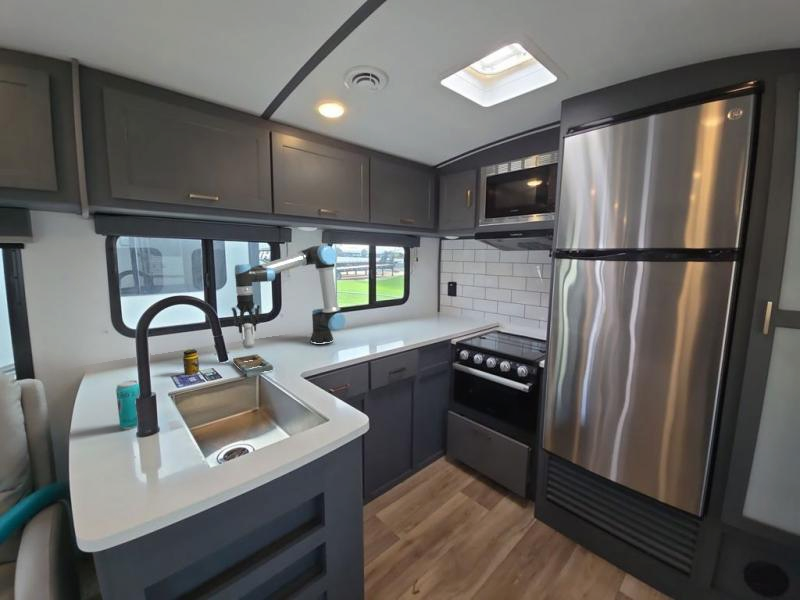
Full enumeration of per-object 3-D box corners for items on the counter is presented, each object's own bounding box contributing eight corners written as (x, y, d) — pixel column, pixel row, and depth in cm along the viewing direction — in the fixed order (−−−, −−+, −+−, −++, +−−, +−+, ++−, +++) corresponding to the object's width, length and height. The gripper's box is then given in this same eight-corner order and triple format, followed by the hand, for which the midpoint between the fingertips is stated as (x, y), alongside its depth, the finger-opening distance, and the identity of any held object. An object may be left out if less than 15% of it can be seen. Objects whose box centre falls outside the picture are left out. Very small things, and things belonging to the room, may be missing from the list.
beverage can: (120, 425, 106) (115, 382, 104) (142, 420, 110) (138, 378, 108) (120, 432, 102) (115, 388, 100) (143, 426, 106) (138, 383, 104)
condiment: (201, 374, 154) (200, 350, 152) (181, 379, 148) (179, 354, 146) (198, 371, 159) (196, 347, 157) (177, 375, 153) (175, 351, 151)
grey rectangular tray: (233, 363, 170) (233, 358, 170) (257, 359, 178) (256, 354, 177) (247, 377, 150) (247, 371, 150) (273, 371, 158) (272, 365, 158)
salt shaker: (248, 349, 164) (246, 325, 163) (240, 348, 167) (238, 324, 165) (257, 346, 170) (255, 322, 168) (249, 345, 172) (247, 322, 170)
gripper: (228, 296, 156) (231, 342, 159) (264, 293, 167) (267, 336, 170) (224, 295, 161) (228, 339, 165) (260, 292, 173) (263, 334, 176)
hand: (248, 337), depth 167 cm, fingers closed on salt shaker, 4 cm apart
